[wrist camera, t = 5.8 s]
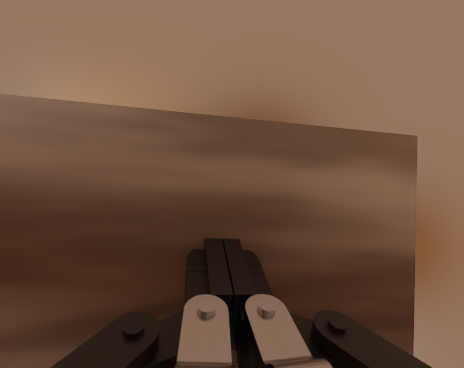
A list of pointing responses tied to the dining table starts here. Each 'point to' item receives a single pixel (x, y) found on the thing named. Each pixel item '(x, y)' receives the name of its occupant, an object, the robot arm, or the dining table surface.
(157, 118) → the panel
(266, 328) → the robot arm
